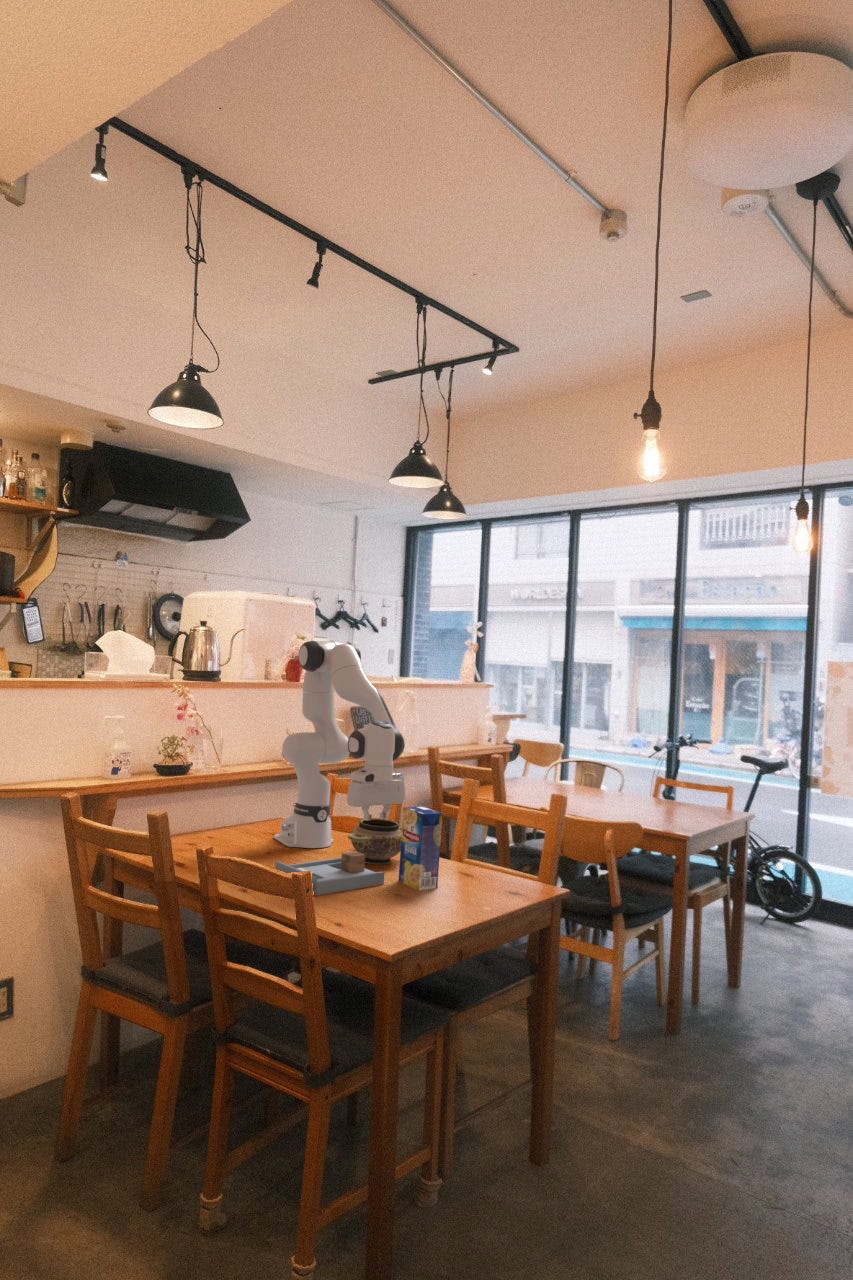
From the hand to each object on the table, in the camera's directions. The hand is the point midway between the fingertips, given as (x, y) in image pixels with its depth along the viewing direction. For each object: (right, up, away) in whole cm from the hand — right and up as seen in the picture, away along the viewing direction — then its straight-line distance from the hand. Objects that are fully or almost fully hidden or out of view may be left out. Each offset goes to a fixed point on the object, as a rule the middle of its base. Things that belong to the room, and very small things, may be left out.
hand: (375, 819), depth 254 cm
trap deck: (-13, -16, -9) cm, 22 cm away
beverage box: (+13, -18, -7) cm, 23 cm away
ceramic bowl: (-1, -18, +18) cm, 25 cm away
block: (-7, -14, -5) cm, 16 cm away
